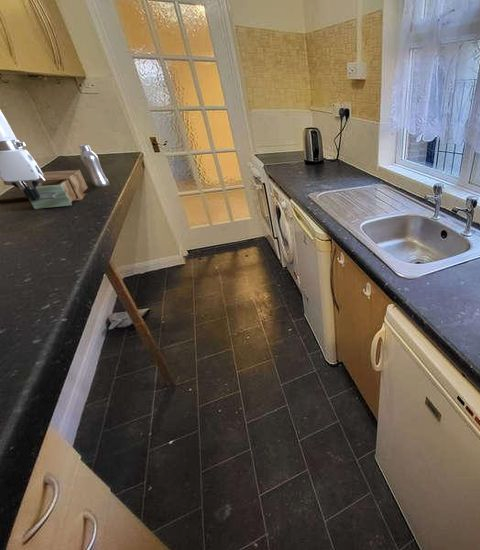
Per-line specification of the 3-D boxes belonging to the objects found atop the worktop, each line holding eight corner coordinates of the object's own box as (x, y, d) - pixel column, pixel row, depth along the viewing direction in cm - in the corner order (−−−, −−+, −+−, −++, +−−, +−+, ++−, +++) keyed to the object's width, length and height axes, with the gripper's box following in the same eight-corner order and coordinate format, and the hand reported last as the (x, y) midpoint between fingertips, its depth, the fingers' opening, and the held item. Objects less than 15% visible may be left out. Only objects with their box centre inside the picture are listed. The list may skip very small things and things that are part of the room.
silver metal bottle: (96, 191, 143) (76, 146, 133) (94, 188, 147) (73, 145, 136) (113, 188, 147) (94, 145, 137) (109, 186, 151) (91, 143, 140)
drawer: (67, 208, 119) (56, 188, 114) (29, 212, 114) (17, 191, 110) (80, 196, 132) (71, 177, 128) (46, 199, 128) (36, 180, 124)
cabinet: (81, 199, 131) (70, 176, 126) (44, 203, 126) (30, 179, 121) (89, 191, 142) (79, 169, 137) (55, 194, 137) (43, 172, 132)
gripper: (38, 143, 105) (64, 194, 115) (-21, 146, 100) (12, 199, 109) (29, 146, 100) (58, 200, 109) (-34, 149, 94) (3, 205, 103)
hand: (35, 199), depth 109 cm, fingers closed
